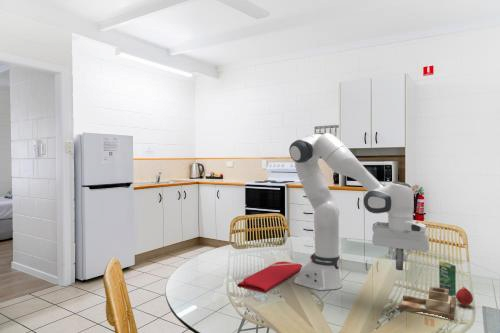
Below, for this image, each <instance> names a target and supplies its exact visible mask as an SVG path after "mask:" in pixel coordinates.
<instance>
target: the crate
mask: <svg viewBox="0 0 500 333" xmlns="http://www.w3.org/2000/svg"><path fill="white" fill-rule="evenodd" d="M425 299H426V305H425V309H429V310H434V311H439V312H444V313H449V314H450V306H451V301H452V296H451V295H449V289H444V288H439V287H438V286H431V285H430V287H429V289H428V293H427V296H426V298H425Z"/></svg>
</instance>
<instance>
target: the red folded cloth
mask: <svg viewBox="0 0 500 333" xmlns="http://www.w3.org/2000/svg"><path fill="white" fill-rule="evenodd" d="M302 267H303V265H302V264H300V263H297V262H290V261H278V262H275V263H273V264H271V265H269V266H267V267H264V268H263V269H261V270H259V271H257V272H255V273H253V274H251V275H249V276H247V277H245V278H244V279H243V281H240V282H238V283H237V287H239V288H242V289H248V290H252V291H255V292H260V293H263V294H264V293H265V294H266V293H267V292H268V291H270V290H272V289H273V288H275V287H277V286H278V285H279V284H281V283H283V282H284V281H285V280H288V279H289V278H290V277H291V276H293V275H295V274H296V273H297V272H299V271H300V270H301V268H302Z"/></svg>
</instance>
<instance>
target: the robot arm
mask: <svg viewBox="0 0 500 333" xmlns="http://www.w3.org/2000/svg"><path fill="white" fill-rule="evenodd" d="M288 150H289V155H290V157H291V159H292V160H293V162H294V166H295V171H296V173H297V177H298V179H299V181H300V185H301V187H302V189H303V191H304V193H305V196H306V197H307V200H308V201H309V203H310V205H311V206H312V210H314V214H313V218H314V219H313V225H314V226H313V227H314V228H313V229H314V252H313V254H311V255H310V257H309V259H310V262H308V263H306V264H305V265H304V266H302V268H301V269H300V270H299V271H298V272H299V273H298V276H296V277H295V278H294V280H293V283H294V284H295V285H300V286H302V287H303V286H304V287H306V288H310V289H313V290H316V291H325V290H337V289H340V288H342V287H343V284H342V279H341V274H340V267H341V259H340V257H341V256H340V251H339V250H340V249H339V247H340V244H339V242H340V239H339V238H340V237H339V234H340V233H339V228H340V226H339V224H340V222H339V219H340V218H339V216H340V210H339V207H338V205H337V202H336V201H335V199H334V197H333V195H332V194H333V193H331V190H330V188H329V186H328V184H327V182H326V179H325V176H324V175H323V173H322V170H321V169H320V166H319V159H322V160H323V161H324V162H325V164H326V165H327V166H328V167H329V168H330V169H331V170H332V171H333V172H335V173H337V174H338V175H341V176H345V177H349V178H351V179H353V180H355V181H357V182H358V183H359V184H360V185H361V186H362V187H363V188H364V189H365V190H366V191H367V192H366V193H365V195H364V196H363V200H362V201H363V202H362V203H363V206H364V208H365V210H367V211H368V212H370V213H372V214H376V215H377V214H378V215H379V214H383V213H387V214H388V215H387V216H388V217H387V222H380V221H376V222H374V223H372V228H371V229H372V232H373V233H372V240H371V242H372V245H374V246H377V247H378V246H379V247H386V248H388V251H389V253H390V254H391V260H395V261H396V253H394V249H396V248H399V249H403V250H405V253H406V254H405V255H404V254H403V262H408V257H409V255H410V254H411V252H412V251H415V252H416V251H417V252H423V253H427V252H428V251H429V250H430V238H429V233H428V232H427V231H426V229H427V226H426V224H424V223H421V222H419V221H416V220H414V215H413V209H414V191H413V187H412V186H411V185H410V184H408V183H407V182H401V181H396V180H395V181H391V182H389V183H388V184H386V185H384V184H383V183H381V182H380V180H378V179H377V178H376V176H374V175H373V174H372V173H371V172H370V171H369V170H368V169H367V168H366V167H365V166H364V165H363V164H362V163H361V161H360V160H359V159H357V157H356V156H355V155H354V153H353V152H351V150H350V149H349V148H348V147H347V145H345V144H344V143H343V142H342V140H340V139H339V138H337V136H335V135H333V134H332V133H330V132H326V133H325V132H316V133H315V134H310V135H306V136H305V137H302V138H300V139H297V140H295V141H293V142H292V143H291V144H290V146H289V149H288Z"/></svg>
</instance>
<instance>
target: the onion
mask: <svg viewBox="0 0 500 333" xmlns="http://www.w3.org/2000/svg"><path fill="white" fill-rule="evenodd" d="M455 297H456V301H457V302H458V303H459V304H460V305H461V306H462V307H468V306H470V305H471V304H472V303H473V302H474V301H473V300H474V296H473V294H472V293H471V291H470V290H469V289H467V288H466V286H462V287H461V288H460V289H458V290H457V291H456V295H455Z"/></svg>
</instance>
